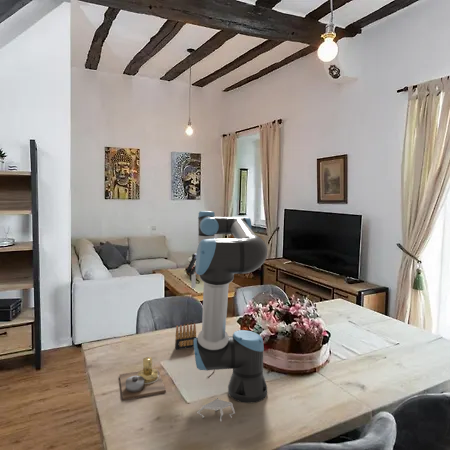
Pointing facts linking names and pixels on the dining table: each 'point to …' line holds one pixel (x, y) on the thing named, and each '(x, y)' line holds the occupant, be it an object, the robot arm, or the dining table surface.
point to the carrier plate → (146, 389)
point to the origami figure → (217, 407)
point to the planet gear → (148, 371)
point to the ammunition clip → (185, 337)
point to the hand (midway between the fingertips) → (206, 289)
